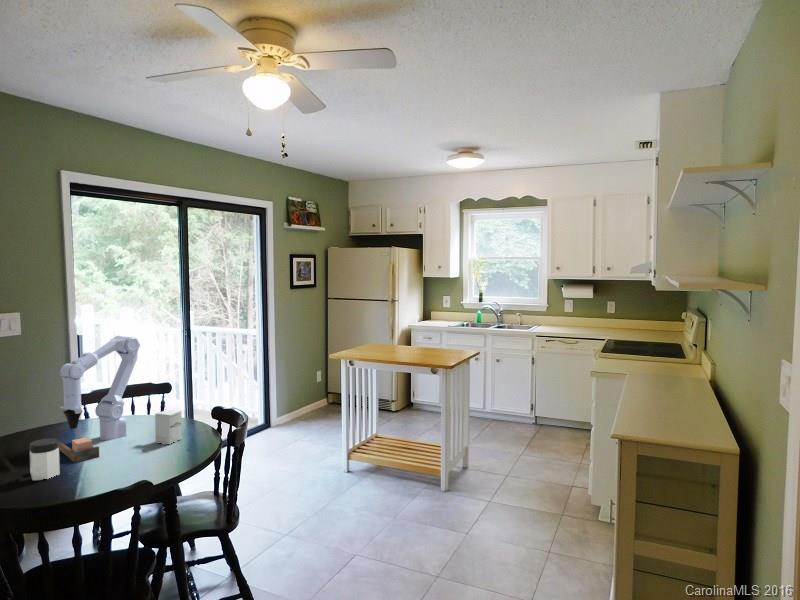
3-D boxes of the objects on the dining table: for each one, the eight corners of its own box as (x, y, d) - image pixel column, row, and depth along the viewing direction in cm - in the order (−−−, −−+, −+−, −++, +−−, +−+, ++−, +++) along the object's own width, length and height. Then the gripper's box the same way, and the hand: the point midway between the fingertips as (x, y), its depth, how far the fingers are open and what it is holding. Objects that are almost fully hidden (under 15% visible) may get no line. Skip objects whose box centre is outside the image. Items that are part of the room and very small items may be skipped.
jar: (24, 481, 174) (23, 446, 173) (35, 472, 182) (34, 438, 181) (54, 479, 176) (53, 445, 175) (64, 470, 184) (63, 437, 183)
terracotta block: (87, 452, 199) (86, 437, 199) (92, 456, 195) (92, 440, 195) (72, 455, 195) (72, 440, 195) (77, 459, 191) (77, 443, 191)
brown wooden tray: (86, 444, 211) (85, 432, 210) (105, 458, 196) (104, 445, 196) (51, 452, 202) (51, 439, 201) (68, 467, 187) (68, 453, 187)
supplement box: (169, 445, 211) (168, 415, 210) (155, 443, 213) (154, 413, 213) (182, 439, 218) (181, 410, 217) (168, 437, 220) (167, 408, 220)
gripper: (54, 392, 203) (55, 426, 204) (66, 399, 194) (67, 434, 195) (75, 389, 209) (76, 422, 209) (87, 395, 199) (88, 430, 200)
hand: (73, 428), depth 202 cm, fingers closed
